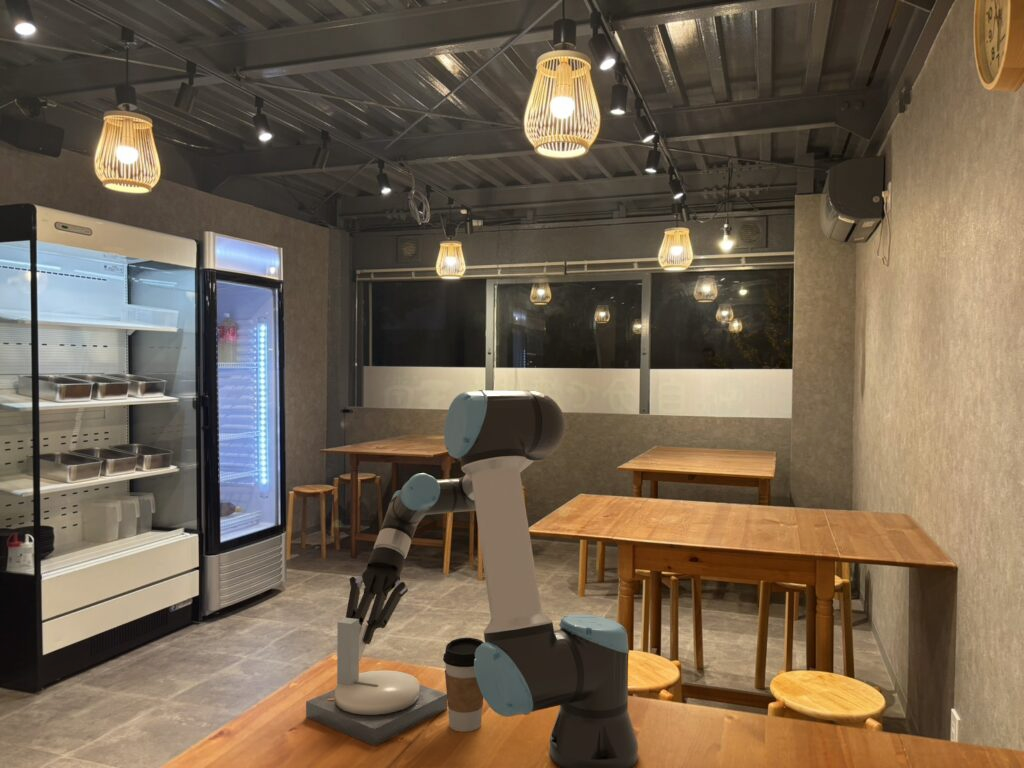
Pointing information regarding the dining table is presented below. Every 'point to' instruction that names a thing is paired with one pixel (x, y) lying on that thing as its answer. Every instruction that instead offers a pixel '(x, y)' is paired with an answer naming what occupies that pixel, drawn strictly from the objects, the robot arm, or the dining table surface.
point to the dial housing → (376, 716)
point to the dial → (368, 679)
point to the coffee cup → (463, 685)
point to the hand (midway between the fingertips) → (352, 657)
